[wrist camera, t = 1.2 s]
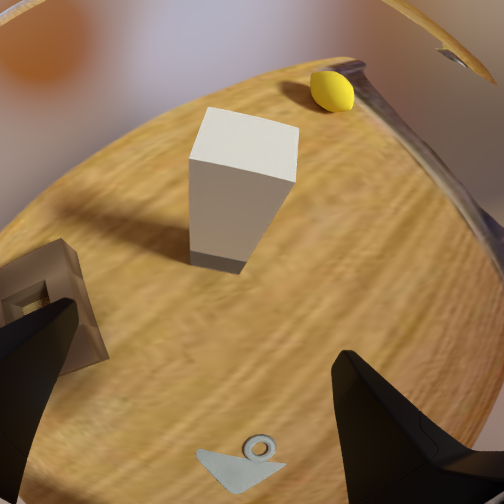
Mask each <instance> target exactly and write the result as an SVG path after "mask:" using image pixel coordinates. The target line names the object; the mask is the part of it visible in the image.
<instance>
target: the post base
mask: <svg viewBox="0 0 504 504" xmlns="http://www.w3.org/2000/svg"><path fill="white" fill-rule="evenodd" d="M48 295H49V299H50V303H53V302H55V301H57V300H59V299H61V298H63V297H68V298H71V299H74V300H75V301H76V302H77V308H78V314H79V325H78V328H77V330H76V333H75V336H74V338H73V341H72V344H71V347H70V349H69V352H68V355H67V358H66V360H65V363H64V365H63V367H62V370H61V372H60V374H59V376H61V375H64V374H67V373H70V372H73V371H76V370H79V369H82V368H85V367H88V366H91V365H94V364H96V363H99V362H102V361H105V360H107V359H110V358H109V355H108V353H107V350H106V348H105V345H104V342H103V340H102V337H101V334H100V331H99V329H98V326H97V323H96V320H95V317H94V314H93V311H92V308H91V304H90V301H89V298H88V294H87V291H86V287H85V284H84V280H83V276H82V272H81V268H80V264H79V260H78V256H77V252H76V251H75V250H73V249H72V248H71V247H70V246H69V245H68V244H67V243H66V242H65V241H64V240H63V239H61V238H60V239H58V240H55V241H53V242H51V243H49V244H47V245H45V246H43V247H41V248H39V249H37V250H35V251H33V252H31V253H29V254H27V255H25V256H23V257H21V258H19V259H17V260H15V261H13V262H11V263H9V264H7V265H5V266H4V267H2V268H0V328H1V327H3V326H5V325H7V324H9V323H11V322H13V321H15V320H17V319H19V318H21V317H23V316H24V315H23V310H22V307H24V306H26V305H28V304H30V303H33V302H35V301H37V300H39V299H42V298H44V297H46V296H48Z"/></svg>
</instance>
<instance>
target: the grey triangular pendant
mask: <svg viewBox="0 0 504 504" xmlns="http://www.w3.org/2000/svg"><path fill="white" fill-rule="evenodd" d="M258 442H264V443H266V444H267V445H268V450H267V452H266V453H265V454H263V455H255V454H254V453H253V452H252V448H253V446H254V445H255V444H256V443H258ZM243 449H244V454H245V456H246V457H247V458H248V459H246V458H240V457H235V456H230V455H225V454H220V453H215V452H211V451H207V450H203V449H198V450H197V452H196V456H197V458H198V460H199V461H200V462H201V463H202V465H203V466H204V467H205V468H206V469H207V470H208V471H209V472H210V473H211V474H212V475H213V476H214V477H215V478H216V479H217V480H218V481H219V482H220V483H221V484H222V485H223V486H224V487H225V488H226V489H227V490H228V491H229V492H231V493H234V494H241V493H242V492H244V491H246V490H247V489H249V488H251V487H253V486H254V485H256V484H258V483H259V482H261V481H262V480H264V479H266V478H267V477H269V476H270V475H272V474H273V473H275V472H276V471H278V470H279V469H281V468H282V467H284V466H285V465H287V464H284V463H275V462H266V460H268V459H270V458H271V457H272V456H273V455H274V453H275V451H276V443H275V441H274V439H273V438H271V437H270V436H268V435H264V434H260V435H255V436H253V437H250V438H249V439H248V440H247V441H246V442H245V445H244V447H243Z"/></svg>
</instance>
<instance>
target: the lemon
mask: <svg viewBox="0 0 504 504" xmlns="http://www.w3.org/2000/svg"><path fill="white" fill-rule="evenodd" d="M310 89H311V94H312V96H313V98H314V100H315V102H316V103H317V104H319V105H320V106H322V107H323V108H324V109H326V110H327V111H331V112H344V111H349V110H351V109H352V106H353V102H354V91H353V87H352V85H351V84H350V83H349V82H348V80H347V79H346V78H345V77H344V76H342V75H340V74H338V73H337V72H332V71H322V72H316V73H312V74H311V80H310Z"/></svg>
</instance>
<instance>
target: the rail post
mask: <svg viewBox="0 0 504 504" xmlns="http://www.w3.org/2000/svg"><path fill="white" fill-rule="evenodd" d="M298 138H299V128H297V127H293V126H290V125H286V124H283V123H279V122H275V121H272V120H268V119H264V118H260V117H255V116H251V115H247V114H242V113H238V112H233V111H228V110H223V109H218V108H212V107H208V109H207V112H206V114H205V117H204V119H203V122H202V124H201V127H200V130H199V132H198V135H197V138H196V140H195V143H194V146H193V149H192V151H191V154H190V157H189V230H190V264H191V265H192V266H197V267H202V268H207V269H211V270H216V271H221V272H226V273H231V274H236V275H239V274H240V272H241V271H242V269H243V267H244V266H245V264H246V263H247V260H248V259H249V257H250V255H251V254H252V252H253V251H254V249H255V247H256V246H257V244H258V242H259V241H260V239H261V238H262V236H263V234H264V233H265V231H266V229H267V228H268V226H269V224H270V223H271V221H272V220H273V218H274V216H275V215H276V213H277V211H278V210H279V208H280V207H281V205H282V203H283V202H284V200H285V198H286V197H287V195H288V194H289V192H290V190H291V189H292V187H293V185H294V184H295V180H296V167H297V153H298Z"/></svg>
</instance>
